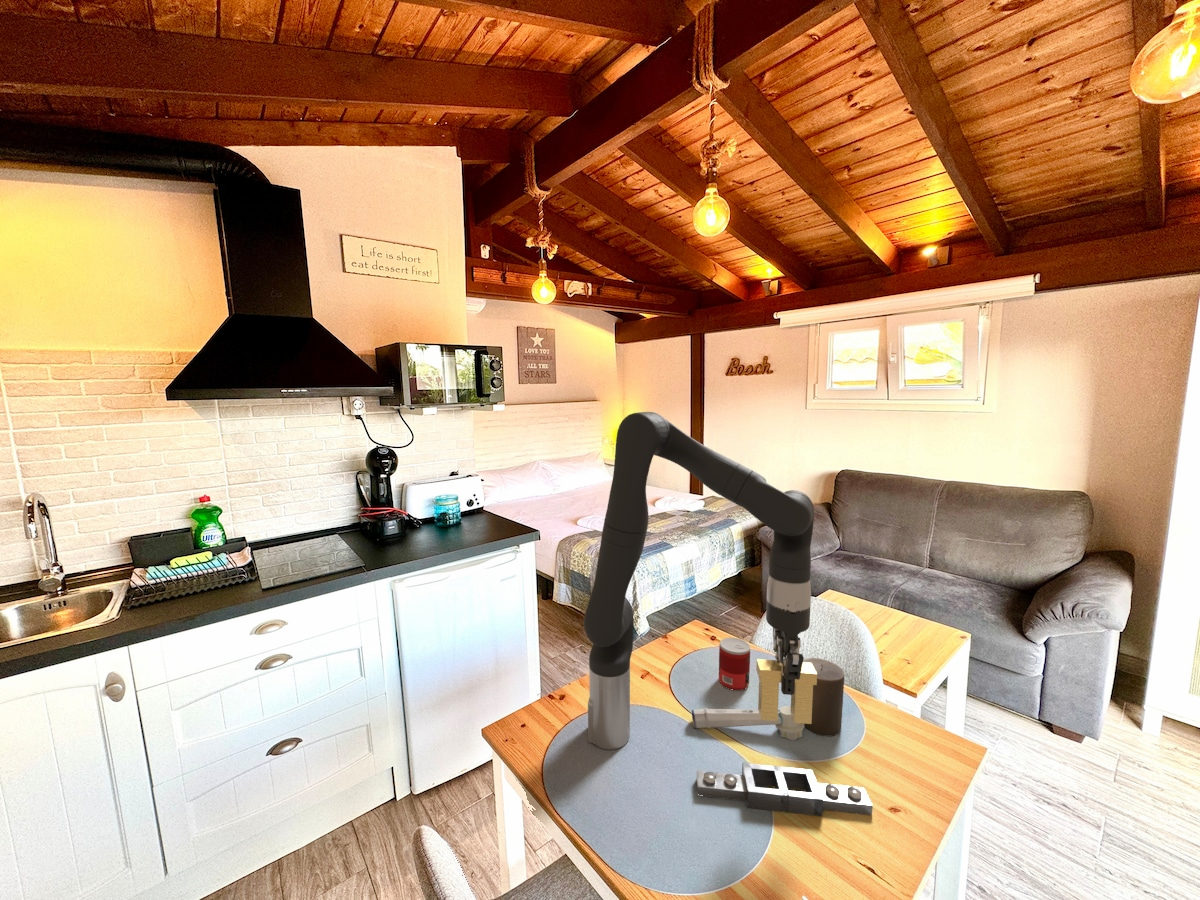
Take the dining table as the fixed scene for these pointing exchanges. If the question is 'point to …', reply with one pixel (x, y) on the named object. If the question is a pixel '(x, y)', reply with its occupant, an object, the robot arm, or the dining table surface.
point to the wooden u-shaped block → (770, 691)
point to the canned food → (734, 663)
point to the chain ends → (783, 790)
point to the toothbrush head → (747, 720)
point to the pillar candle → (826, 698)
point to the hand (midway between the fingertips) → (785, 686)
